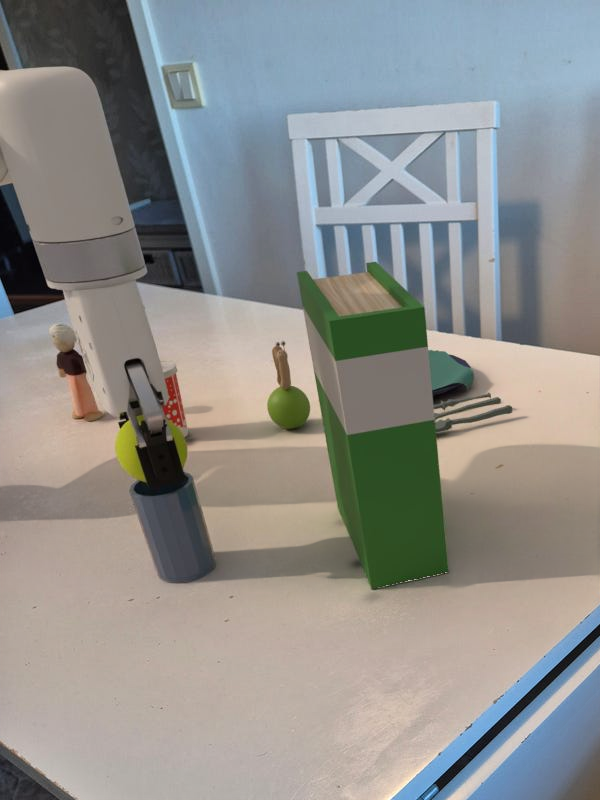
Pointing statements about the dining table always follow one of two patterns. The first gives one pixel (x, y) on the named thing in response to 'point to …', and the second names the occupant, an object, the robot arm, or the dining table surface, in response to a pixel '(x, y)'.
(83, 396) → the grandmother figurine
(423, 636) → the dining table surface
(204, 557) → the cup
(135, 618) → the dining table surface
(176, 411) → the beverage cup
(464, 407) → the cutlery set
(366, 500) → the hardback book
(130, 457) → the ball
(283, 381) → the snail figurine
